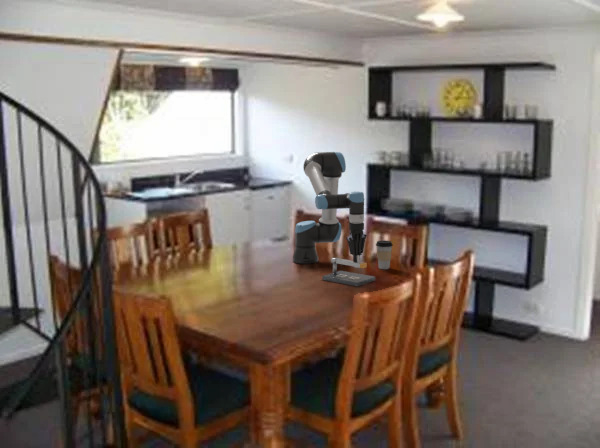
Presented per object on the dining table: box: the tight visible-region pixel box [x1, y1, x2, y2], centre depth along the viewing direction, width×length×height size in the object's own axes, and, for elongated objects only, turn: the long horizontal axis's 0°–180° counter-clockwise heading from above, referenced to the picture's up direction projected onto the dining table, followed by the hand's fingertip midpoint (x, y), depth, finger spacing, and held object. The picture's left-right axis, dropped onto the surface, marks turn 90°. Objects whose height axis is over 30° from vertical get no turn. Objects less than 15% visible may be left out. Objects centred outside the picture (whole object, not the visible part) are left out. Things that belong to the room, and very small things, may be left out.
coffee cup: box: [375, 240, 394, 270], centre depth 369 cm, size 9×9×15 cm
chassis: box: [322, 263, 376, 287], centre depth 342 cm, size 22×16×8 cm
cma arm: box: [330, 257, 368, 269], centre depth 341 cm, size 22×4×2 cm, turn 48°
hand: (356, 267), depth 341 cm, fingers closed
